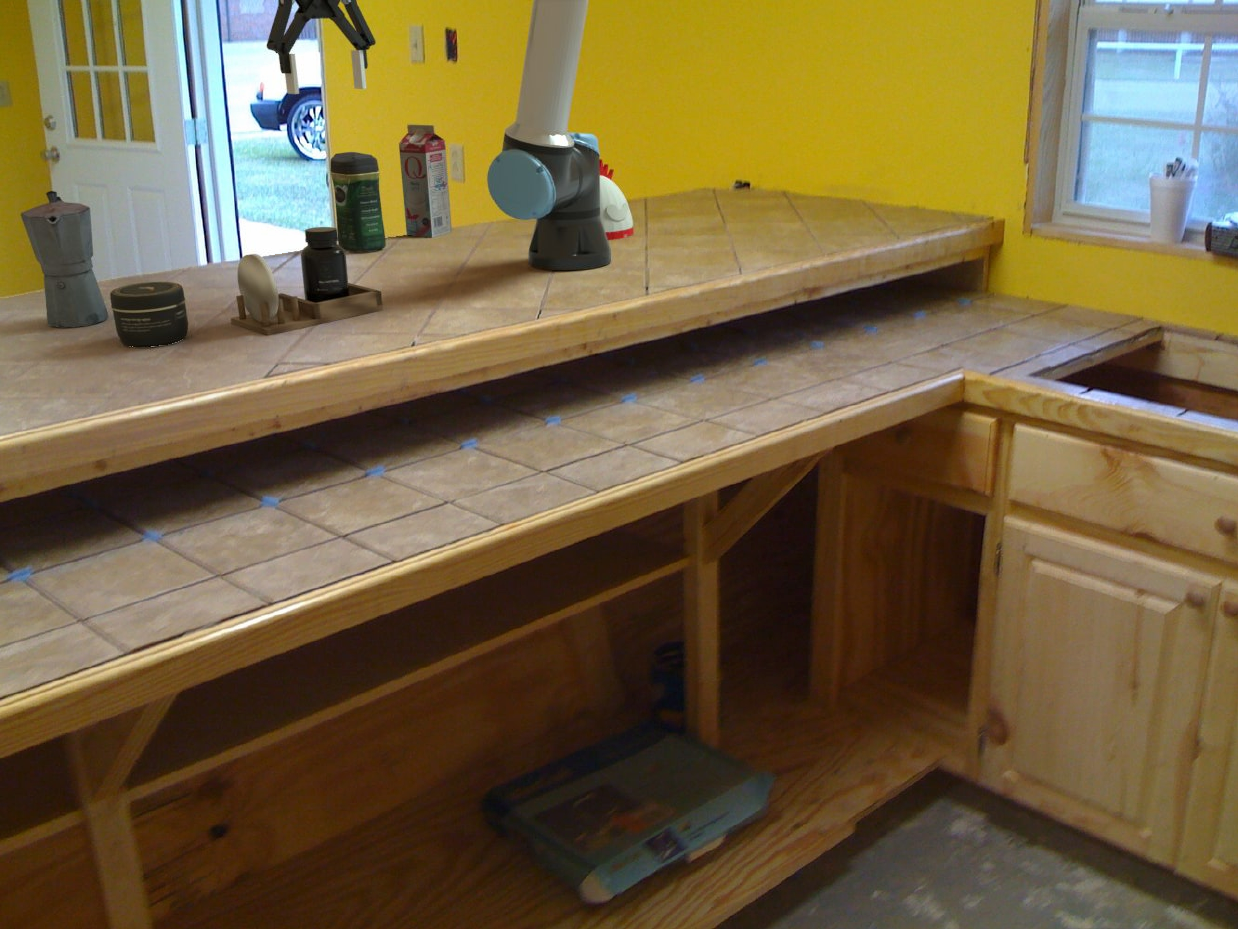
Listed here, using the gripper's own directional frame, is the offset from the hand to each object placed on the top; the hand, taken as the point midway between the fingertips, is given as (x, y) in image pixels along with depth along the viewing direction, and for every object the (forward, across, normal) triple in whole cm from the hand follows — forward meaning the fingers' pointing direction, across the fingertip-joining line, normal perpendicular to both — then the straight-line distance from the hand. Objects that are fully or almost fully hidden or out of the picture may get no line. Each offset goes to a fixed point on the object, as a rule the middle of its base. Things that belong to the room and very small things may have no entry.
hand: (327, 91), depth 209 cm
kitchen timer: (+31, -51, +15) cm, 61 cm away
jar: (+31, +48, +25) cm, 62 cm away
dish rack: (+31, +26, +30) cm, 50 cm away
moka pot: (+31, +51, +4) cm, 60 cm away
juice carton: (+31, -29, -14) cm, 44 cm away
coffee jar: (+31, -11, -10) cm, 34 cm away
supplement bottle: (+30, +22, +29) cm, 47 cm away
